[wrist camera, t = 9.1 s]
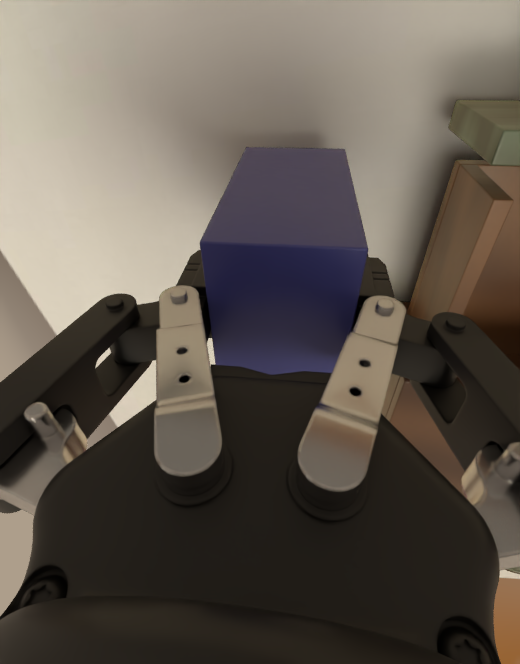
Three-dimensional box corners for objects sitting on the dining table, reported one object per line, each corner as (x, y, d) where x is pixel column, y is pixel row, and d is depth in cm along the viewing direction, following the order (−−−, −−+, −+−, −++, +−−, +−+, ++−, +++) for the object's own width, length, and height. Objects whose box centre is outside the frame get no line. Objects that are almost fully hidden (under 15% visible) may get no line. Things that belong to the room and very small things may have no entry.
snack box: (245, 146, 17) (198, 242, 10) (345, 148, 17) (369, 248, 10) (249, 259, 21) (217, 385, 14) (330, 263, 21) (339, 394, 14)
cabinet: (384, 300, 26) (404, 381, 20) (608, 312, 25) (697, 403, 19) (349, 434, 37) (356, 512, 31) (503, 448, 35) (539, 531, 30)
